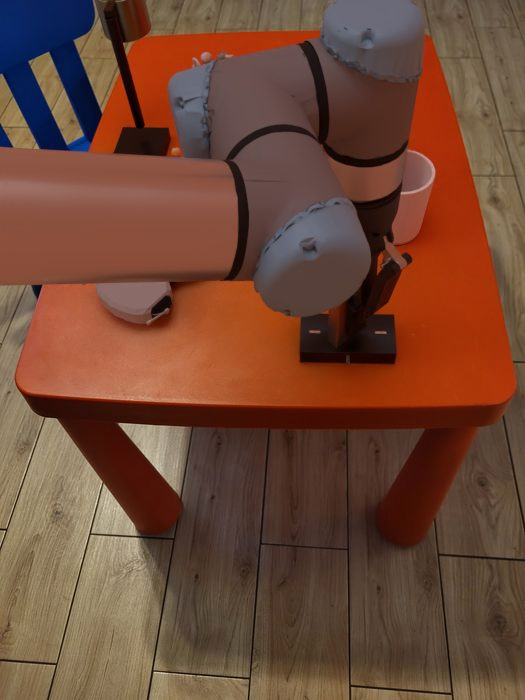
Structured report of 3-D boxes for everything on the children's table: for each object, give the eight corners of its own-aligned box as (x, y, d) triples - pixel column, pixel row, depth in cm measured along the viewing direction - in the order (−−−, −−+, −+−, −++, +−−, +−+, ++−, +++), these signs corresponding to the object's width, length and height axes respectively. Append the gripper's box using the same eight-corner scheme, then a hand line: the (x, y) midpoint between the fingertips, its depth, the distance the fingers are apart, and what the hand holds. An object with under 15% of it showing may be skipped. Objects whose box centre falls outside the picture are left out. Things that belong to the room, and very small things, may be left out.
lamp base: (152, 203, 96) (146, 183, 93) (103, 201, 97) (96, 182, 94) (171, 138, 104) (166, 118, 101) (126, 137, 105) (119, 117, 102)
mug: (401, 196, 93) (410, 140, 84) (435, 233, 89) (449, 178, 80) (338, 223, 91) (341, 168, 82) (371, 262, 86) (377, 209, 78)
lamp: (160, 129, 100) (131, 12, 84) (118, 128, 100) (81, 12, 84) (171, 91, 105) (146, -25, 89) (131, 91, 106) (99, -24, 90)
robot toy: (157, 242, 92) (85, 304, 86) (152, 219, 89) (76, 282, 82) (220, 277, 88) (149, 344, 81) (217, 254, 84) (143, 323, 77)
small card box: (336, 348, 76) (339, 304, 68) (327, 341, 77) (329, 296, 69) (367, 324, 78) (373, 278, 70) (358, 316, 78) (363, 270, 71)
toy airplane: (229, 100, 109) (225, 66, 103) (180, 99, 110) (173, 66, 105) (237, 69, 114) (233, 36, 108) (189, 69, 115) (184, 36, 109)
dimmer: (299, 374, 77) (299, 364, 75) (301, 313, 83) (301, 301, 80) (395, 376, 76) (397, 365, 74) (391, 313, 81) (393, 301, 79)
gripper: (451, 197, 54) (413, 343, 74) (335, 122, 60) (329, 274, 80) (392, 241, 51) (369, 379, 71) (278, 158, 58) (286, 305, 78)
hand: (348, 323), depth 76 cm, fingers closed on small card box, 2 cm apart
